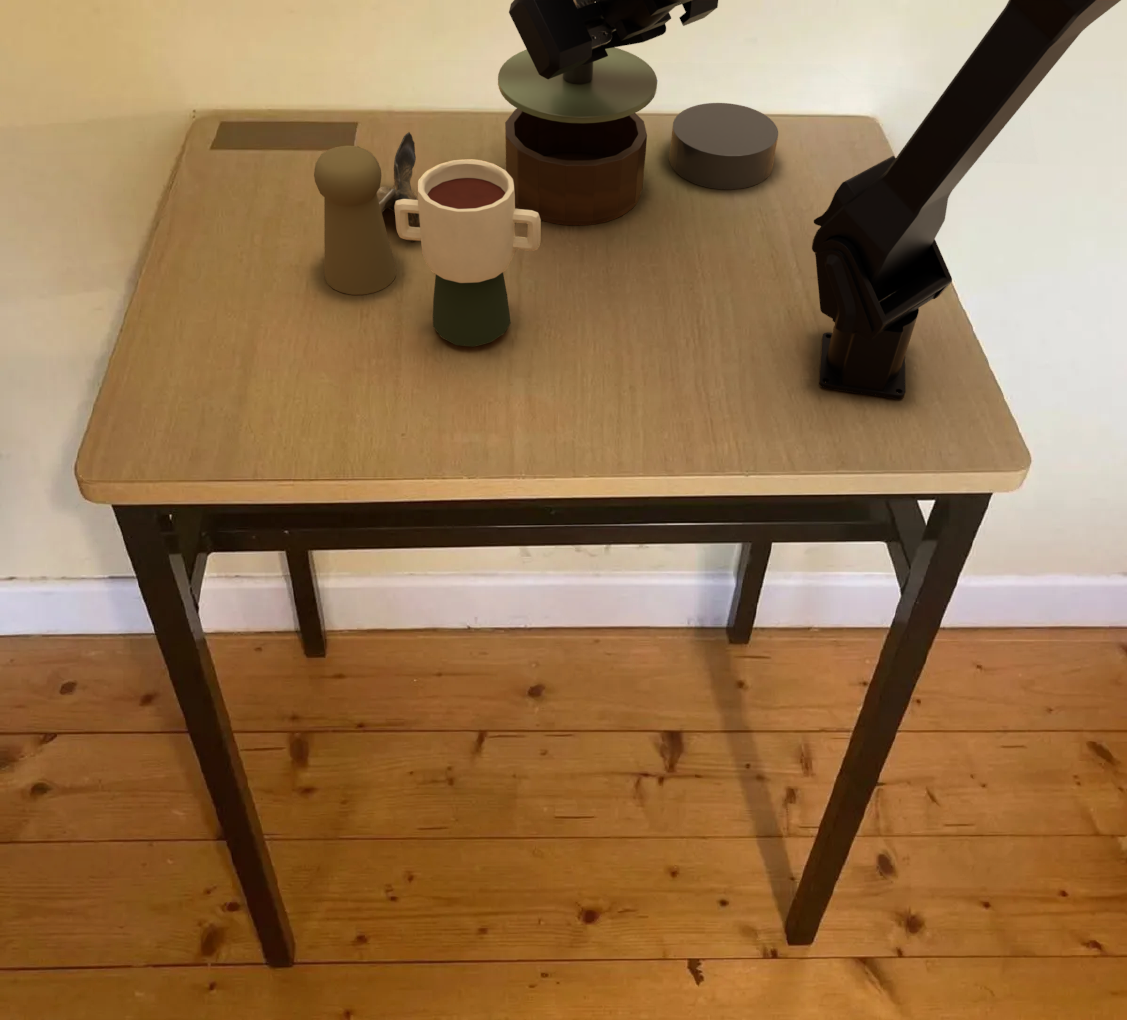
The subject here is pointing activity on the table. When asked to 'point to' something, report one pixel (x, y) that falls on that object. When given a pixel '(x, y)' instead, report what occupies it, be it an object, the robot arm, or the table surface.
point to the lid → (580, 88)
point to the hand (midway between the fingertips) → (567, 51)
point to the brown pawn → (353, 222)
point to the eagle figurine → (401, 180)
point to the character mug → (468, 245)
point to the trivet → (723, 145)
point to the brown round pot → (575, 167)
